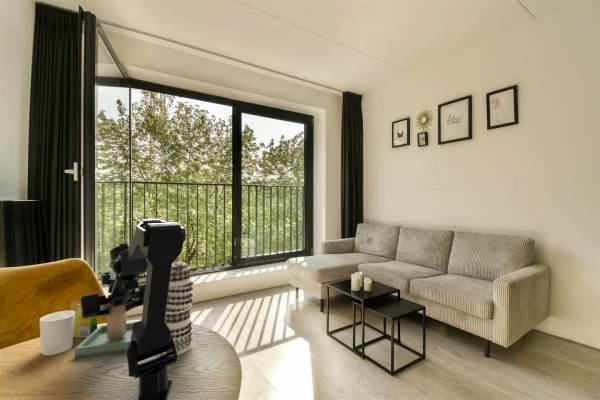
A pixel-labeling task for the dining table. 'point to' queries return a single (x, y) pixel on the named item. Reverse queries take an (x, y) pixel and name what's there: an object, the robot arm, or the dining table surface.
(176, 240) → the robot arm
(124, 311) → the peach rounded cone
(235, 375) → the dining table surface
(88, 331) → the crayon box
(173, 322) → the decorative candle
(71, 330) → the white cup
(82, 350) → the tray
